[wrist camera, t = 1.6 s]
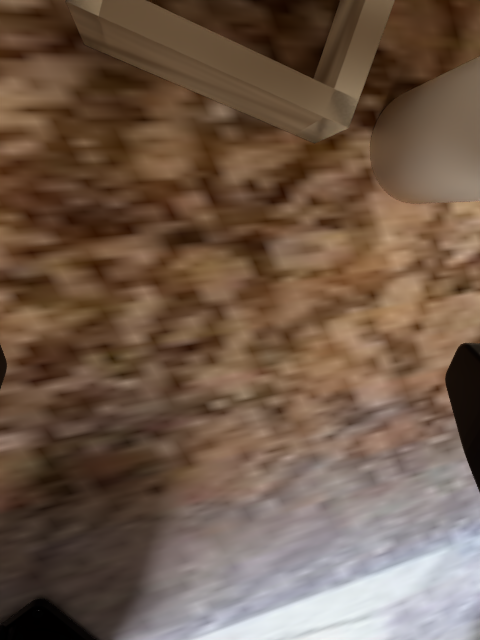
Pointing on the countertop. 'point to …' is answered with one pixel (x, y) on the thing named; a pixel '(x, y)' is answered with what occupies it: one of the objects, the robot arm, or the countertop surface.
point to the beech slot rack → (243, 61)
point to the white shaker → (431, 140)
